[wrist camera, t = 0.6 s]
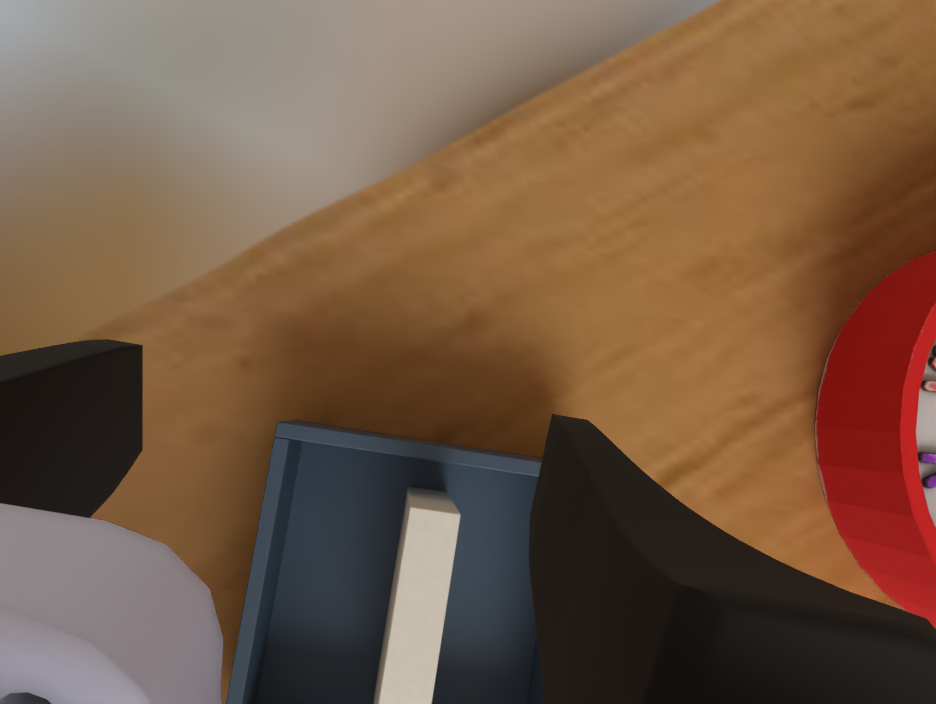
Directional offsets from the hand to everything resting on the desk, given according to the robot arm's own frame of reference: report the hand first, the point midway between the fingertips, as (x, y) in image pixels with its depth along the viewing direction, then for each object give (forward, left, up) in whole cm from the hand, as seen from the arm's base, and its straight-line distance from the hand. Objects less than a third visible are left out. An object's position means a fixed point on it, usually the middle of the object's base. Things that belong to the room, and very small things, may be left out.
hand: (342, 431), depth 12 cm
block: (-7, -3, -20) cm, 21 cm away
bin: (-7, -3, -20) cm, 22 cm away
